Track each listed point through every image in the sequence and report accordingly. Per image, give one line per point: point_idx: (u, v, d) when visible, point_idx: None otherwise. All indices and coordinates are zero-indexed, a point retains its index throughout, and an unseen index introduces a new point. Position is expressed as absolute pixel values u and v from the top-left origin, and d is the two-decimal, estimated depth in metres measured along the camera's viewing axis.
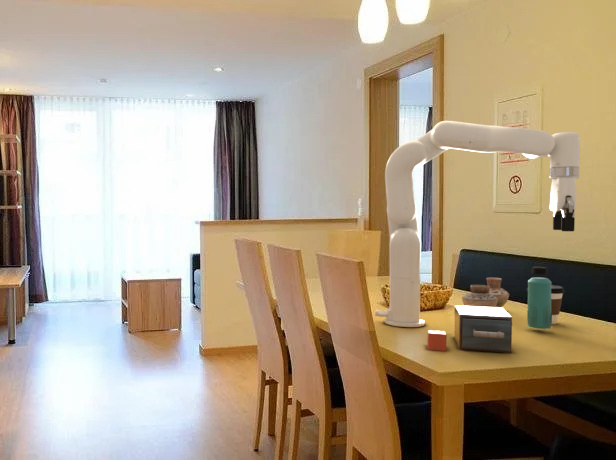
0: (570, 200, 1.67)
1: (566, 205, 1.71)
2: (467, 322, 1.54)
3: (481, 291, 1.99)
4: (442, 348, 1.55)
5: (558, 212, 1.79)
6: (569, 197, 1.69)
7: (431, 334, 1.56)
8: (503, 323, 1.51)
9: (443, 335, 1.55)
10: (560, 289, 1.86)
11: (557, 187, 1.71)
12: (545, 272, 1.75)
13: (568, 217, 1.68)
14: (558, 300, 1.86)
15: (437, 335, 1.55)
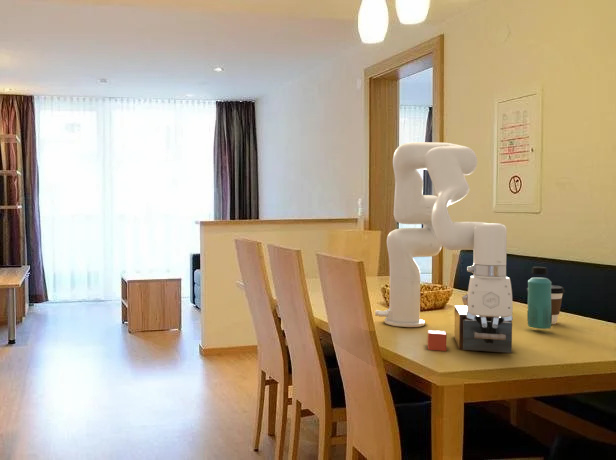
0: None
1: None
2: (468, 324, 1.52)
3: None
4: (442, 348, 1.55)
5: None
6: None
7: (431, 334, 1.56)
8: (505, 325, 1.49)
9: (443, 335, 1.55)
10: (560, 289, 1.86)
11: (506, 289, 1.44)
12: (545, 272, 1.75)
13: None
14: (558, 300, 1.86)
15: (437, 335, 1.55)
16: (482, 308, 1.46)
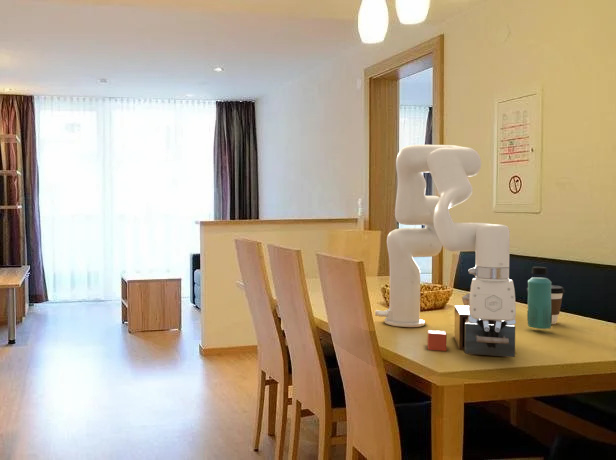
0: None
1: None
2: (470, 327, 1.48)
3: None
4: (442, 348, 1.55)
5: None
6: None
7: (431, 334, 1.56)
8: (508, 328, 1.45)
9: (443, 335, 1.55)
10: (560, 289, 1.86)
11: (509, 292, 1.40)
12: (545, 272, 1.75)
13: None
14: (558, 300, 1.86)
15: (437, 335, 1.55)
16: (484, 311, 1.42)
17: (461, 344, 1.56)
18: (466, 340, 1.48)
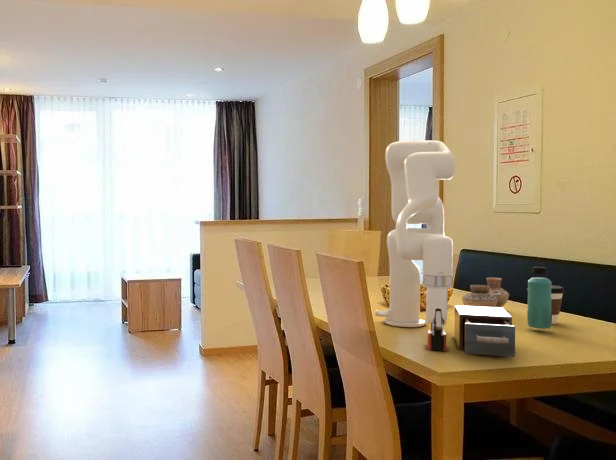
0: (438, 320, 1.51)
1: None
2: (470, 327, 1.48)
3: (481, 291, 1.99)
4: None
5: (435, 325, 1.61)
6: (438, 314, 1.52)
7: (431, 334, 1.56)
8: (508, 328, 1.45)
9: (443, 335, 1.55)
10: (560, 289, 1.86)
11: (427, 298, 1.55)
12: (545, 272, 1.75)
13: (437, 335, 1.54)
14: (558, 300, 1.86)
15: None
16: None
17: (461, 344, 1.56)
18: (466, 340, 1.48)
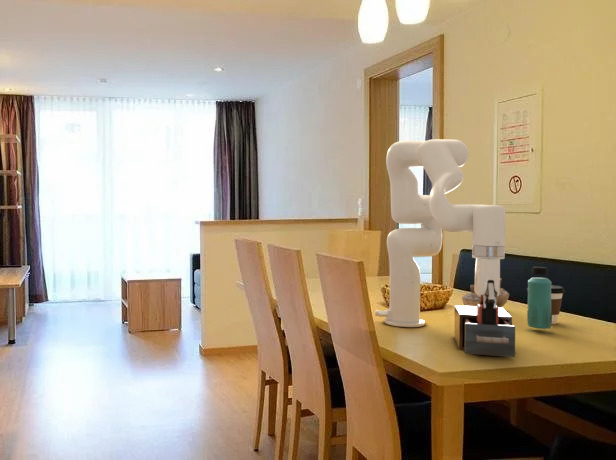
0: (491, 292, 1.44)
1: None
2: (470, 327, 1.48)
3: None
4: None
5: None
6: (491, 285, 1.45)
7: (482, 307, 1.49)
8: (508, 328, 1.45)
9: None
10: (560, 289, 1.86)
11: (478, 269, 1.47)
12: (545, 272, 1.75)
13: (489, 308, 1.47)
14: (558, 300, 1.86)
15: None
16: None
17: (461, 344, 1.56)
18: (466, 340, 1.48)
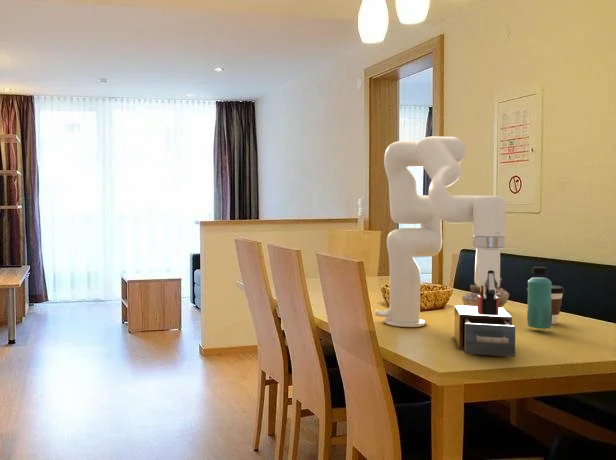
0: (491, 283, 1.44)
1: None
2: (470, 327, 1.48)
3: None
4: None
5: (485, 290, 1.54)
6: (491, 276, 1.45)
7: (482, 298, 1.49)
8: (508, 328, 1.45)
9: None
10: (560, 289, 1.86)
11: (479, 260, 1.47)
12: (545, 272, 1.75)
13: (489, 299, 1.47)
14: (558, 300, 1.86)
15: None
16: (475, 277, 1.53)
17: (461, 344, 1.56)
18: (466, 340, 1.48)
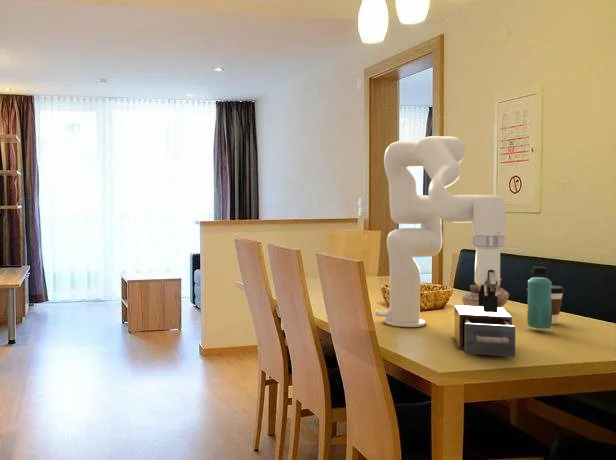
0: (492, 277, 1.43)
1: (489, 280, 1.47)
2: (470, 327, 1.48)
3: None
4: None
5: None
6: (491, 273, 1.45)
7: None
8: (508, 328, 1.45)
9: None
10: (560, 289, 1.86)
11: (479, 259, 1.47)
12: (545, 272, 1.75)
13: (490, 296, 1.45)
14: (558, 300, 1.86)
15: None
16: (475, 276, 1.53)
17: (461, 344, 1.56)
18: (466, 340, 1.48)
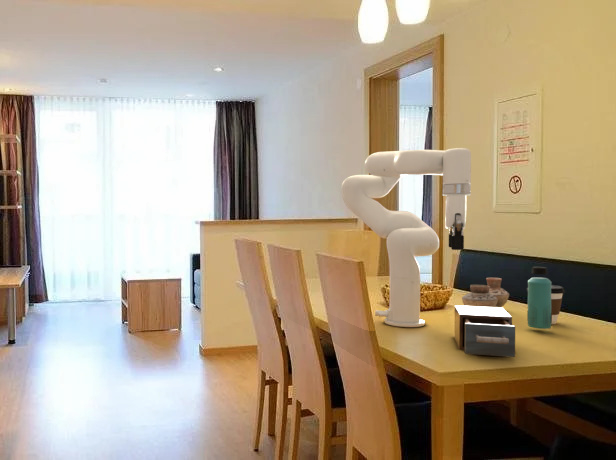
0: (458, 218, 1.63)
1: None
2: (470, 327, 1.48)
3: (481, 291, 2.00)
4: None
5: None
6: (458, 215, 1.65)
7: None
8: (508, 328, 1.45)
9: None
10: (560, 289, 1.86)
11: (447, 204, 1.68)
12: (545, 272, 1.75)
13: (457, 235, 1.65)
14: (558, 300, 1.86)
15: None
16: (445, 221, 1.73)
17: (461, 344, 1.56)
18: (466, 340, 1.48)
